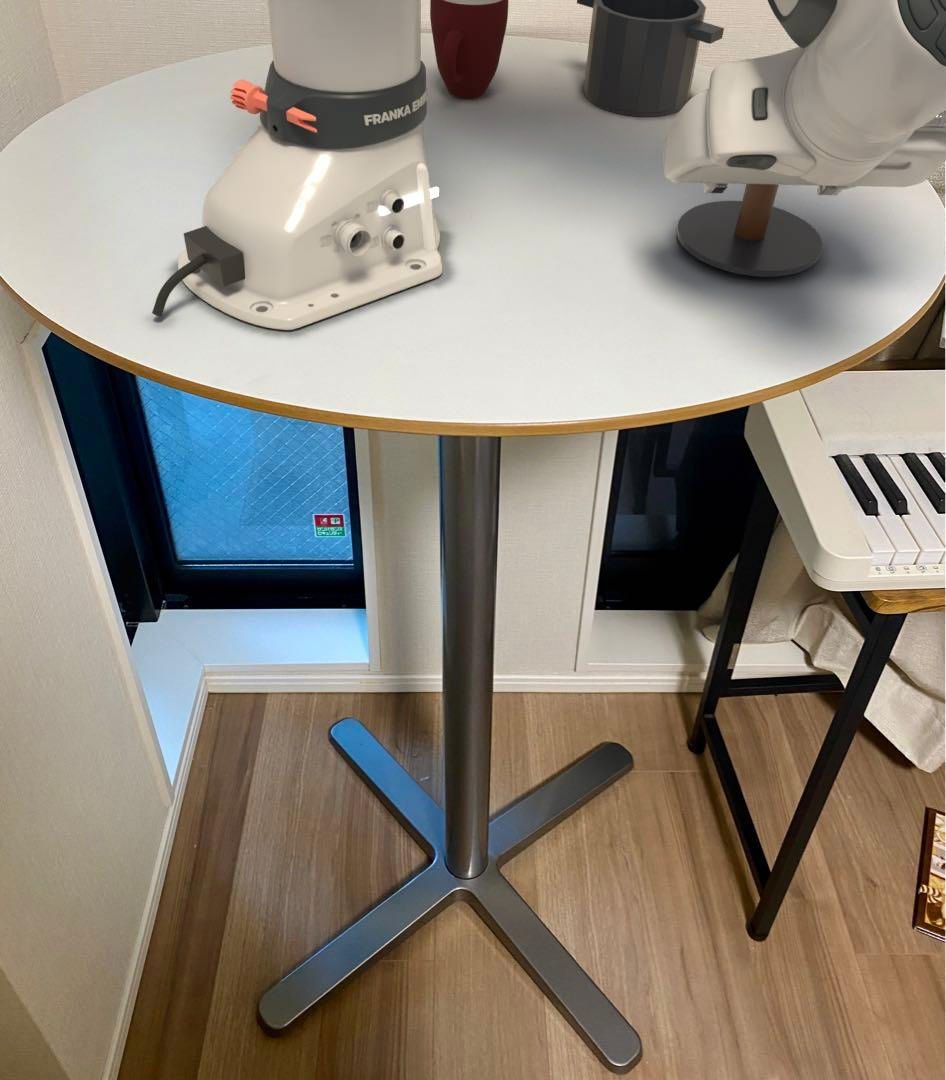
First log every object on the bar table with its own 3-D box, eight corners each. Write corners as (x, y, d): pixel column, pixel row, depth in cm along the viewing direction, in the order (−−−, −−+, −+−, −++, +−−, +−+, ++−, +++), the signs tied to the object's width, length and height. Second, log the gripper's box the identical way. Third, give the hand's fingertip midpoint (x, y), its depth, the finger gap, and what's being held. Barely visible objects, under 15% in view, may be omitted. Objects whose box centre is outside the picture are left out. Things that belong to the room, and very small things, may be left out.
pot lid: (775, 300, 80) (804, 198, 74) (648, 246, 86) (665, 147, 80) (843, 245, 87) (875, 149, 81) (721, 199, 93) (743, 105, 87)
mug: (492, 119, 104) (497, 16, 96) (416, 111, 104) (416, 8, 97) (508, 82, 111) (514, -16, 104) (438, 74, 112) (439, -24, 105)
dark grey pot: (671, 133, 103) (689, 36, 96) (544, 88, 110) (552, -5, 103) (728, 103, 109) (748, 10, 102) (604, 62, 116) (615, -28, 110)
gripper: (988, 70, 68) (893, 149, 82) (692, 63, 67) (647, 143, 81) (987, 162, 68) (893, 225, 82) (692, 156, 67) (647, 221, 81)
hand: (769, 185), depth 81 cm, fingers open, 8 cm apart
